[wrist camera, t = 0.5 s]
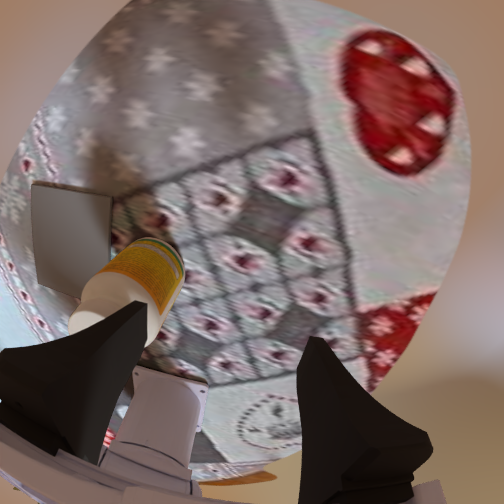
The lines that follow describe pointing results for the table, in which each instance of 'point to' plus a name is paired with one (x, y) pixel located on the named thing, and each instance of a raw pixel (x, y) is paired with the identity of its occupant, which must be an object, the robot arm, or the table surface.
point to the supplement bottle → (133, 285)
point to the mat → (69, 236)
